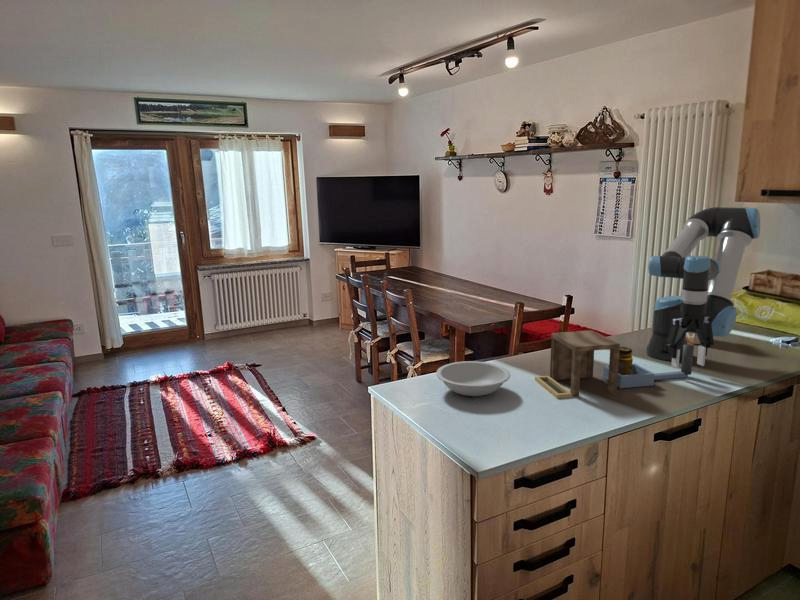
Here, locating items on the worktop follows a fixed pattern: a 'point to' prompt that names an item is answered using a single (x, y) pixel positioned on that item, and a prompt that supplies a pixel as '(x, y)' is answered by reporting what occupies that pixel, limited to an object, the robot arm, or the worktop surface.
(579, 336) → the tunnel
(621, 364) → the condiment
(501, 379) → the soup bowl
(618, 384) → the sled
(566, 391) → the beige rectangular tray
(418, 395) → the worktop surface
